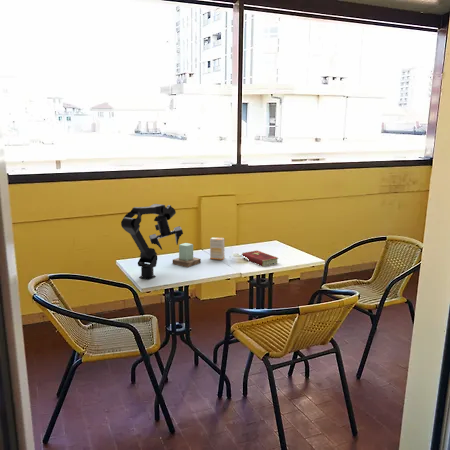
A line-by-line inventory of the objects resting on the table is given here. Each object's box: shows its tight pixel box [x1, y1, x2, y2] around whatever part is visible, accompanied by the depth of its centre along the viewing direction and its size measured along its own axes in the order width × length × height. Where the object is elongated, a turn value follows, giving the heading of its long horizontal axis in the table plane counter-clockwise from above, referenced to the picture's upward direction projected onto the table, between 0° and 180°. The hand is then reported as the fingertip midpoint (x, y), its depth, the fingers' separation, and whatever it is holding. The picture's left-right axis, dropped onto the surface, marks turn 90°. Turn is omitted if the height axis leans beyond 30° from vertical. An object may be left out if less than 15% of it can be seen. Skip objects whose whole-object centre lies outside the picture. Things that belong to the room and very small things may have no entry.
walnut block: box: [172, 256, 202, 268], centre depth 276 cm, size 12×12×3 cm
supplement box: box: [209, 236, 226, 261], centre depth 285 cm, size 8×5×13 cm, turn 74°
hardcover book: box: [241, 250, 279, 267], centre depth 282 cm, size 12×21×4 cm, turn 33°
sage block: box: [178, 242, 194, 261], centre depth 275 cm, size 6×6×9 cm
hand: (169, 247), depth 264 cm, fingers open, 9 cm apart
